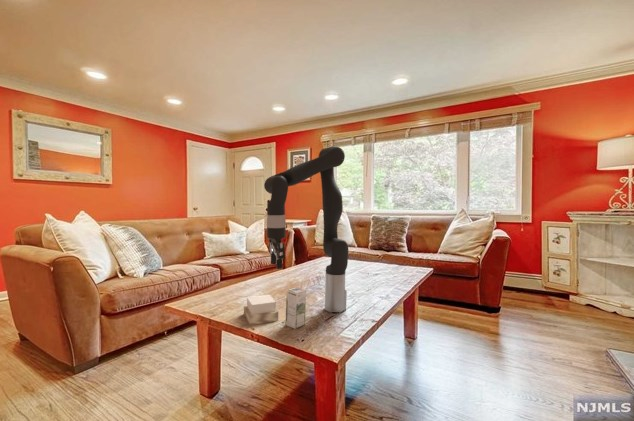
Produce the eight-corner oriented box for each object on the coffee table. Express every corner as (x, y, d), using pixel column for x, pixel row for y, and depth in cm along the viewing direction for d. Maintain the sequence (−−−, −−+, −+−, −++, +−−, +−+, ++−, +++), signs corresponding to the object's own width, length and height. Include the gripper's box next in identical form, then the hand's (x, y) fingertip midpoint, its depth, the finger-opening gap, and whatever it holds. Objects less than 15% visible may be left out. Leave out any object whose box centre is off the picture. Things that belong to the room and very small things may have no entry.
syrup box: (295, 320, 118) (295, 286, 118) (305, 325, 115) (306, 289, 114) (285, 325, 114) (286, 289, 114) (295, 329, 110) (296, 292, 110)
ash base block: (270, 311, 129) (270, 302, 129) (278, 321, 118) (278, 312, 118) (243, 315, 124) (243, 306, 124) (249, 326, 113) (249, 316, 113)
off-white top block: (269, 303, 128) (269, 294, 128) (275, 311, 119) (275, 301, 119) (246, 306, 124) (247, 297, 124) (251, 314, 115) (252, 304, 115)
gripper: (291, 227, 108) (291, 269, 109) (280, 224, 121) (280, 261, 122) (271, 228, 105) (272, 271, 106) (262, 225, 118) (262, 263, 118)
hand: (276, 266), depth 114 cm, fingers open, 8 cm apart
